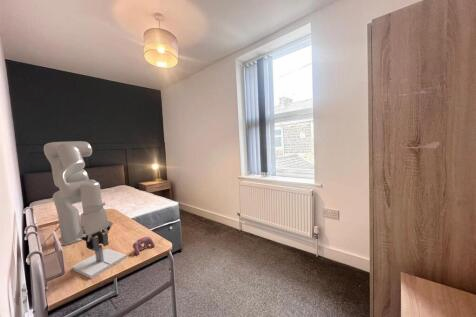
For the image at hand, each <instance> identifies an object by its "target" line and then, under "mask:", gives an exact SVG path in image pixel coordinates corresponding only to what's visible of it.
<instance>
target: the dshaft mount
mask: <svg viewBox="0 0 476 317" xmlns="http://www.w3.org/2000/svg"><path fill="white" fill-rule="evenodd" d="M94 253H95V254H93V255H91V256H88V257H87V258H85V259H83V260H81V261H80V262H77V263H76V264H74V265H72V266H71V269H73V271H74V272H76V273H78V274H81V275H83V276H84V277H87V278H88V279H94V278H95V277H97V276H99V275H100V274H102V273H103V272H106V271H107V270H108V269H110V268H113V267H114V266H115V265H117V264H119V263H120V262H122V261H124V260H125V259H127V254H124V253H121V252H119V251H116V250H114V249H113V250H112V249H110V248H105V249H103V244H99V250H97V251H94Z"/></svg>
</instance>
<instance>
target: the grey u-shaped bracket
mask: <svg viewBox="0 0 476 317" xmlns="http://www.w3.org/2000/svg"><path fill="white" fill-rule="evenodd" d="M91 241H92V246H93V249H89V250H91V251H94V252H95V251H97V250H99V245H102V247H104V248H105V247H106V246H108V245H109V236H108V237H107V233H106V232H102V230H101V231H99V232H96V233H94V234H92V236H91Z"/></svg>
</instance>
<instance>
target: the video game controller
mask: <svg viewBox="0 0 476 317" xmlns="http://www.w3.org/2000/svg"><path fill="white" fill-rule="evenodd" d="M149 246H151V247H152V248H155V246H156V245H155V242H154V240H152V238H151V237H149V236H145V237H141V238H139V239H138V240H136V241H135V242H134V243H132V248H133V250H134V252H135V254H136V255H140V252H141V251H142V250H143V249H144V248H145V249H146V248H148V247H149Z"/></svg>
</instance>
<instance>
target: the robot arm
mask: <svg viewBox="0 0 476 317" xmlns="http://www.w3.org/2000/svg"><path fill="white" fill-rule="evenodd" d="M43 152H44V155H45V157H46V159H47V161H48V162H49V163H50V166H51V173H52V179H53V182H54V185H55V186H56V188H58V189H59V190H57V191H55V192H54V193H53V195H52V200H53V203H54V206H55V209H56V213H57V214H56V215H57V219H58V227H59V234H60V238H61V239H59V241H60V243H61V244H62V245H61V246H67V245H73V244H75V243H78V242H80V241H85V244H86V245H85V246H86V248H87V249H88V250H90V249H93V246H92V241H91V236H92V234H94V233H96V232H99V231H102V232H106V233H107V237H108V238H109V235H108V234H109V231H110V229H111V228H112V226H113V224H114V222H112V221H110V220H109V219H108V213H107V214H106V212H107V211H106V209H105V208H104V207H105V206H106V203H105V202H103V199H102V191H101V184H100V182H98V181H97V180H95V179H90V178H89V174H88V172H87V171H86V170H85V169H84V168H85V167H86V163H85V160H84V158H85V157H91V155H93V148H92V146H91V144H90V143H89V142H88V141H82V140H80V141H79V140H78V141H53V142H47V143H46V144H44V146H43ZM77 203H81V206H82V207H81V208H82V213H81V214H80V213H79V209H78V207H76V206H74V204H77Z"/></svg>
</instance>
